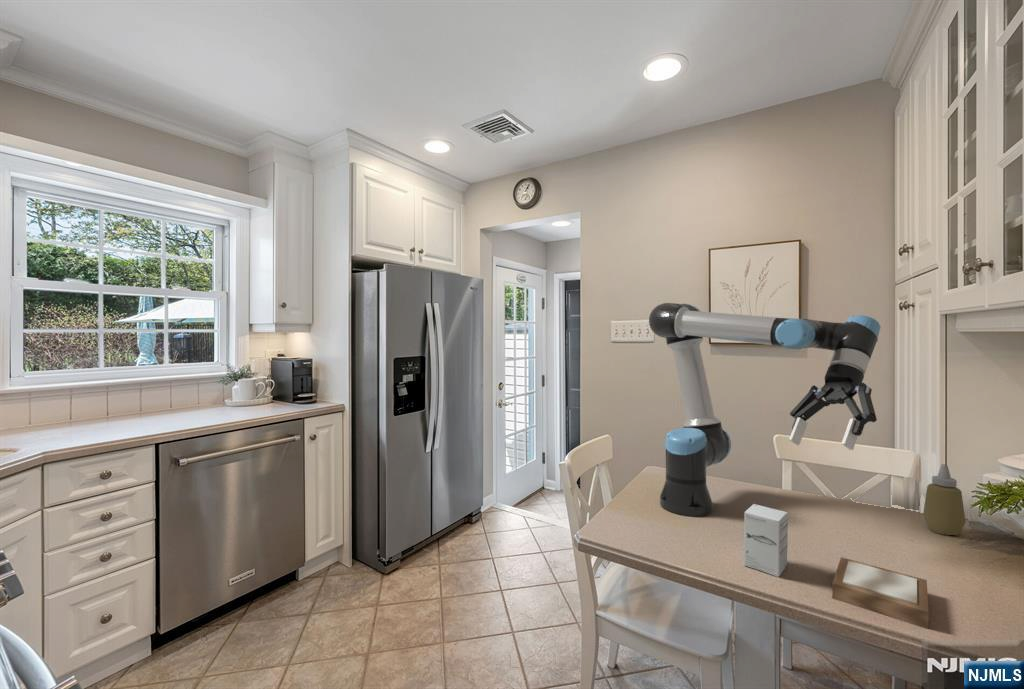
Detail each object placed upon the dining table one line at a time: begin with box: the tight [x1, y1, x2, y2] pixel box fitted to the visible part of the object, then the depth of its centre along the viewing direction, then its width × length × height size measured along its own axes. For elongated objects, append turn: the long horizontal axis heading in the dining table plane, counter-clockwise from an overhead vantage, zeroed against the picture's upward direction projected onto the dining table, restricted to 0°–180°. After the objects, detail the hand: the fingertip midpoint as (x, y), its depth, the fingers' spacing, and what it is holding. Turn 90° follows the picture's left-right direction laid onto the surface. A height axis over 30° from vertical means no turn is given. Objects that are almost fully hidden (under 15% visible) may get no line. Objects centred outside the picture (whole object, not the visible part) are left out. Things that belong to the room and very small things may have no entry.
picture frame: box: [831, 556, 930, 629], centre depth 89 cm, size 14×14×3 cm
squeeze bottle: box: [922, 463, 966, 536], centre depth 117 cm, size 8×8×18 cm
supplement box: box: [743, 503, 789, 578], centre depth 101 cm, size 7×7×13 cm
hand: (818, 444), depth 106 cm, fingers open, 13 cm apart
